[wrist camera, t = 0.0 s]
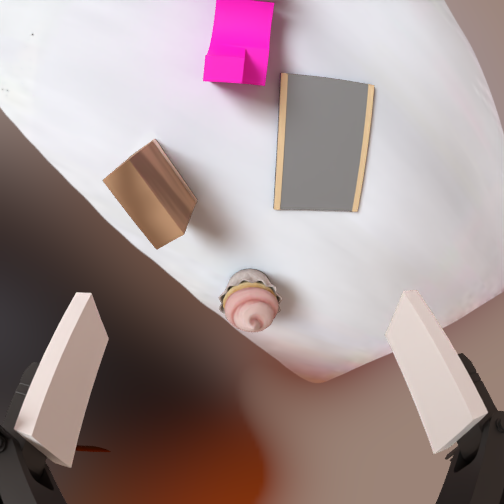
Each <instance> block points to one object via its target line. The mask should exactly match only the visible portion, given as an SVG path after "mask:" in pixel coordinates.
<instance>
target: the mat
mask: <svg viewBox="0 0 504 504" xmlns="http://www.w3.org/2000/svg"><path fill="white" fill-rule="evenodd" d="M373 95H374V85H370V84H365V83H359V82H353V81H347V80H340V79H334V78H326V77H318V76H309V75H299V74H287V73H280V95H279V117H278V137H277V156H276V173H275V190H274V207H273V208H274V209H275V210H280V209H294V210H334V211H353V212H357V211H358V205H359V200H360V194H361V188H362V182H363V176H364V169H365V163H366V156H367V149H368V141H369V133H370V125H371V116H372V106H373Z"/></svg>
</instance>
